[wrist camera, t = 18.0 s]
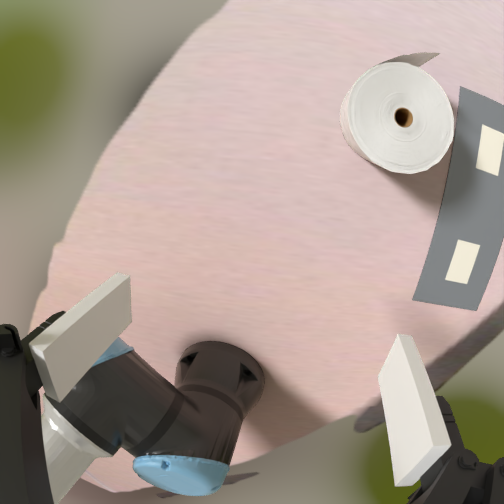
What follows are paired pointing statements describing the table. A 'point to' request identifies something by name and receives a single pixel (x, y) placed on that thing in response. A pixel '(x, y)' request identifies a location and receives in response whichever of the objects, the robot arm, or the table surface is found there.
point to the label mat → (468, 209)
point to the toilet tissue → (398, 116)
